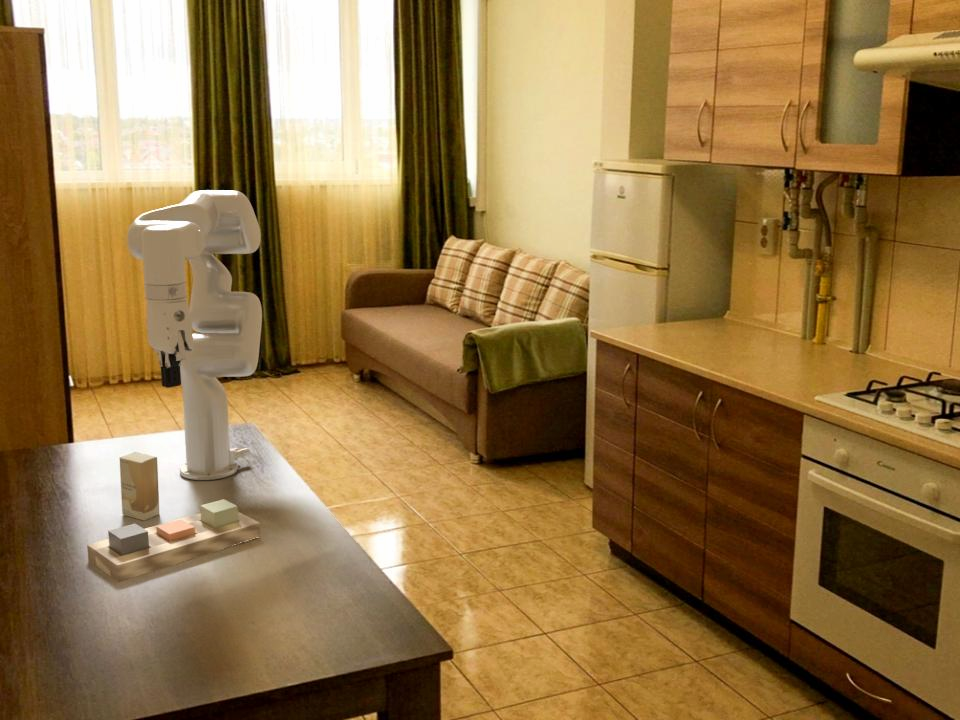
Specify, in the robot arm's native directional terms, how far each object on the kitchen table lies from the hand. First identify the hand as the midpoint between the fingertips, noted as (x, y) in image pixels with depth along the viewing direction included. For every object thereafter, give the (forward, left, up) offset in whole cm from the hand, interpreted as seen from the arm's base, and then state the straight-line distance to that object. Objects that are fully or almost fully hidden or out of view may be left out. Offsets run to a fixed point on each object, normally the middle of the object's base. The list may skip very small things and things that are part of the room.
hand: (171, 385), depth 197 cm
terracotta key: (+8, +14, -26) cm, 31 cm away
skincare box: (+5, -6, -27) cm, 28 cm away
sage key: (-1, +14, -25) cm, 28 cm away
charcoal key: (+17, +14, -25) cm, 33 cm away
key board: (+8, +14, -27) cm, 31 cm away
